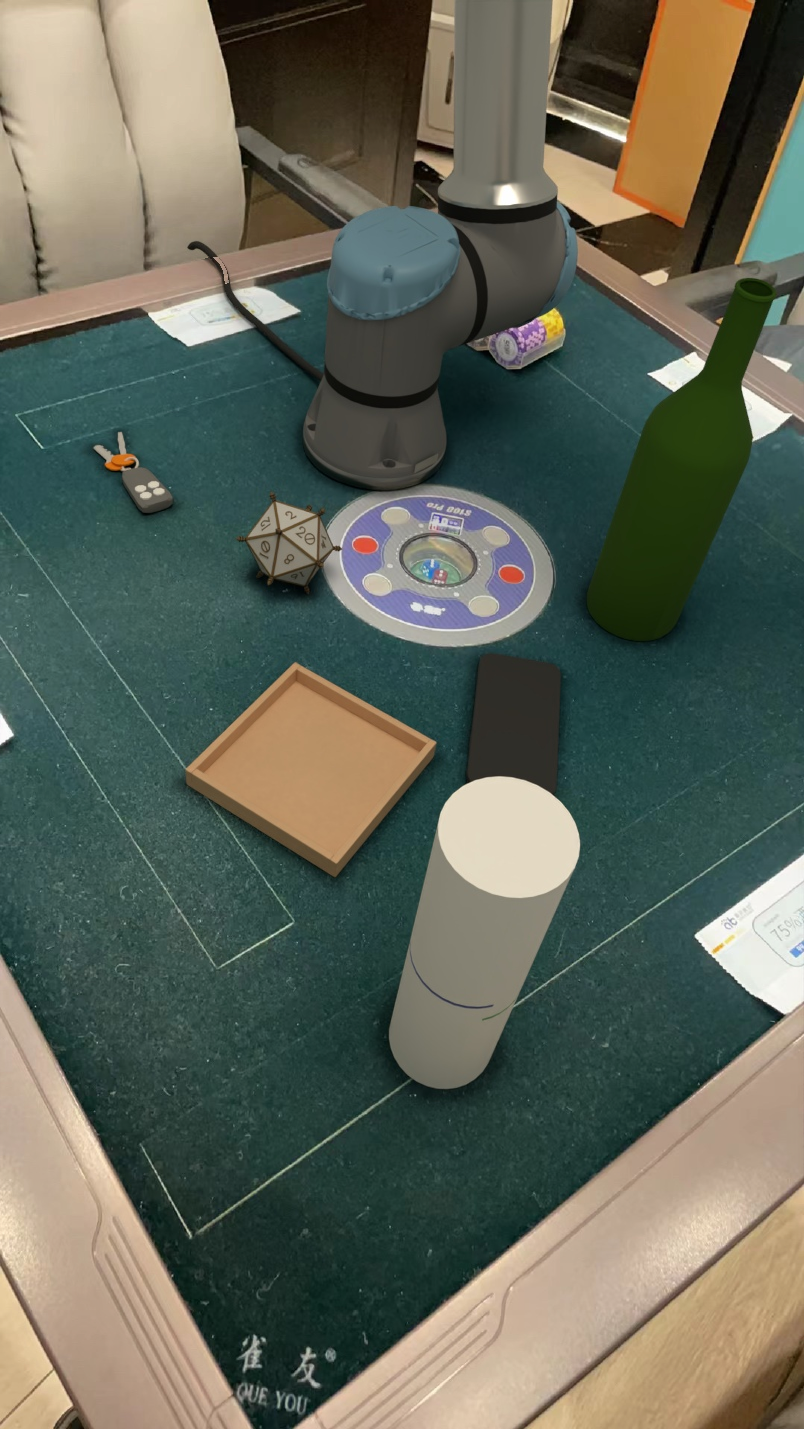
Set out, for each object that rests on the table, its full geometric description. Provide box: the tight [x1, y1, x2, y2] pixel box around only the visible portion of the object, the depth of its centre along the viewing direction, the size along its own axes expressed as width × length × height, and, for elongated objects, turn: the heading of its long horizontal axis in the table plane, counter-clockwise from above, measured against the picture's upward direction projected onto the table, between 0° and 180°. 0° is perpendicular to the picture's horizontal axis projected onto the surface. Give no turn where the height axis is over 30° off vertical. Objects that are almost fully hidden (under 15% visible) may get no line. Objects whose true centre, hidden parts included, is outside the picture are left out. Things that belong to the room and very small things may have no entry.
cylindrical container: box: [388, 776, 581, 1090], centre depth 62 cm, size 7×7×25 cm
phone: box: [465, 652, 562, 797], centre depth 89 cm, size 7×1×15 cm
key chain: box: [92, 431, 174, 514], centre depth 105 cm, size 13×4×2 cm, turn 34°
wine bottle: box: [586, 277, 777, 642], centre depth 88 cm, size 9×9×32 cm
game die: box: [235, 491, 343, 596], centre depth 95 cm, size 9×8×10 cm
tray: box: [185, 661, 437, 878], centre depth 84 cm, size 14×14×2 cm
